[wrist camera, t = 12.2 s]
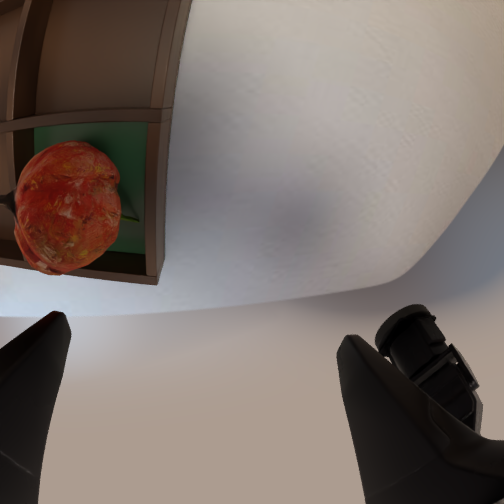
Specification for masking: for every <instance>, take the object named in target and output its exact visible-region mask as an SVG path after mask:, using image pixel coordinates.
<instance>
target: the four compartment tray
mask: <svg viewBox="0 0 504 504" xmlns="http://www.w3.org/2000/svg"><path fill="white" fill-rule="evenodd" d="M191 2H192V0H0V195H6V194H8V193H10V192H11V191H12V190H14V189H15V187H16V186H17V184H18V181H19V178H20V175H21V172H22V170H23V169H24V167H25V166H26V165H27V164H28V162H29V161H30V160H31V159H32V158H33V157H34V156H35V155H36V154H38V153H40V152H41V151H43V150H44V149H46V148H48V147H50V146H52V145H55V144H57V143H61V142H66V141H71V140H75V141H81V142H87V143H89V144H90V145H91V146H93V147H95V148H97V149H98V150H99V151H101V152H103V153H105V154H106V155H107V156H108V157H109V159H110V160H111V161H112V162H113V163H114V165H115V166H116V168H117V170H118V172H119V175H120V181H119V184H118V186H117V193H118V195H119V197H120V203H121V213H122V214H123V215H124V216H131V217H134V218H136V219H139V223H135V222H130V221H125V220H120V223H119V231H118V236H117V238H116V240H115V242H114V243H112V244H111V245H110V246H109V247H108V248H107V250H106V251H105V252H104V254H102V255H101V256H100V257H98V258H97V259H95V260H94V261H93V262H91V263H90V264H88V265H86V266H84V267H81V268H78V269H74V270H71V271H69V272H66V273H64V275H71V276H78V277H86V278H94V279H102V280H111V281H119V282H128V283H138V284H147V285H157V284H158V281H159V277H160V274H161V270H162V267H163V263H164V260H165V207H166V184H167V168H168V154H169V142H170V131H171V121H172V112H173V104H174V96H175V89H176V82H177V75H178V68H179V62H180V56H181V50H182V45H183V40H184V34H185V29H186V25H187V20H188V15H189V11H190V6H191ZM14 230H15V219H14V215H13V214H12V212H11V211H10V210H9V209H7V208H6V207H5V206H2V205H0V265H6V266H12V267H18V268H24V269H30V270H36V269H34V268H33V267H32V266H31V265H30V264H29V262H28V261H27V259H26V257H25V256H24V255H23V253H22V252H21V250H20V247H19V245H18V243H17V240H16V237H15V234H14ZM36 271H37V270H36Z"/></svg>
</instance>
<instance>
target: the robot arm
mask: <svg viewBox="0 0 504 504" xmlns="http://www.w3.org/2000/svg"><path fill="white" fill-rule="evenodd" d="M435 320H436V317H435V315H427V316H412V317H401V318H399V319H398V320H397V322H396V324H395V326H394V327H393V329H392V331H391V332H390V334H389V336H388V337H387V339H386V340H385V342H384V344H383V345H382V347H381V348H380V350H379V351H378V352H377V351H376V350H375V349H374V348H373V347H372V346H371V345H369V344H368V343H367V342H366V341H365V340H364V339H362V338H361V337H360V336H358V335H346V336H345V337H344V339H343V341H342V343H341V345H340V347H339V349H338V351H337V364H338V370H339V378H340V385H341V392H342V397H343V402H344V406H345V410H346V414H347V418H348V422H349V427H350V431H351V435H352V439H353V444H354V448H355V453H356V457H357V462H358V466H359V471H360V476H361V481H362V486H363V491H364V496H365V502H366V504H504V440H490V439H487V438H484V437H482V436H481V434H480V429H481V421H482V411H483V404H482V402H481V400H480V398H479V396H478V394H477V393H476V391H475V390H476V389H477V388H478V387H479V384H478V382H477V380H476V378H475V376H474V374H473V373H472V370H471V369H470V367H469V365H468V364H467V362H466V361H465V359H464V358H463V356H462V355H461V353H460V352H459V351H458V350H457V349H456V347H455V346H454V345H453V344H452V343H451V344H450V345H449V346H447V345H446V343H445V340H446V339H445V337H444V335H443V334H442V332H441V331H440V330H439V328H438V327H437V325H436V324H435ZM70 340H71V329H70V327H69V324H68V321H67V318H66V315H65V314H64V313H63V312H59V311H52V312H50V313H49V314H48V315H46V316H45V317H43V318H42V319H40V320H39V321H38V322H36V323H35V324H33V325H32V326H31V327H29V328H28V329H27V330H25V331H24V332H22V333H21V334H20V335H18V336H17V337H16V338H14V339H13V340H11V341H10V342H9V343H7V344H6V345H5V346H3V347H2V348H1V349H0V504H38V495H39V485H40V476H41V469H42V462H43V455H44V450H45V445H46V439H47V434H48V430H49V426H50V421H51V417H52V413H53V408H54V405H55V401H56V397H57V394H58V390H59V387H60V384H61V380H62V376H63V372H64V367H65V362H66V357H67V352H68V348H69V344H70ZM384 357H389V358H390V360H391V362H392V364H391V363H390V362H389V361H388V360H387V359H385V358H384ZM456 362H458V364H456Z"/></svg>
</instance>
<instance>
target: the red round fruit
mask: <svg viewBox="0 0 504 504" xmlns="http://www.w3.org/2000/svg"><path fill="white" fill-rule="evenodd" d="M119 181H120V175H119V172H118V170H117V168H116V166H115V165H114V163H113V162H112V161H111V160H110V159H109V157H108V156H107V155H106V154H105V153H103V152H101V151H99V150H98V149H97V148H95V147H93V146H91V145H90V144H89V143H87V142H81V141H75V140H71V141H66V142H61V143H57V144H55V145H52V146H50V147H48V148H46V149H44V150H43V151H41V152H40V153H38V154H36V155H35V156H34V157H33V158H32V159H31V160H30V161H29V162H28V164H27V165H26V166H25V167H24V169H23V170H22V172H21V175H20V178H19V181H18V184H17V186H16V187H15V189H14V190H12V191H11V192H10V193H8V194H6V195H0V205H2V206H5V207H6V208H7V209H9V210H10V211H11V212H12V214H13V215H14V219H15V230H14V234H15V237H16V240H17V243H18V245H19V247H20V250H21V252H22V253H23V255H24V256H25V257H26V259H27V261H28V262H29V264H30V265H31V266H32V267H33V268H34V269H36V270H37V271H40V272H42V273H44V274H48V275H59V276H60V275H62V274H64V273H66V272H69V271H71V270H74V269H78V268H81V267H84V266H86V265H88V264H90V263H91V262H93V261H94V260H95V259H97V258H98V257H100V256H101V255H102V254H104V252H105V251H106V250H107V248H108V247H109V246H110V245H111V244H112V243H114V242H115V240H116V238H117V236H118V231H119V223H120V220H125V221H130V222H135V223H139V219H136V218H134V217H131V216H124V215H123V214H122V213H121V203H120V197H119V195H118V193H117V186H118V184H119Z"/></svg>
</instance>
